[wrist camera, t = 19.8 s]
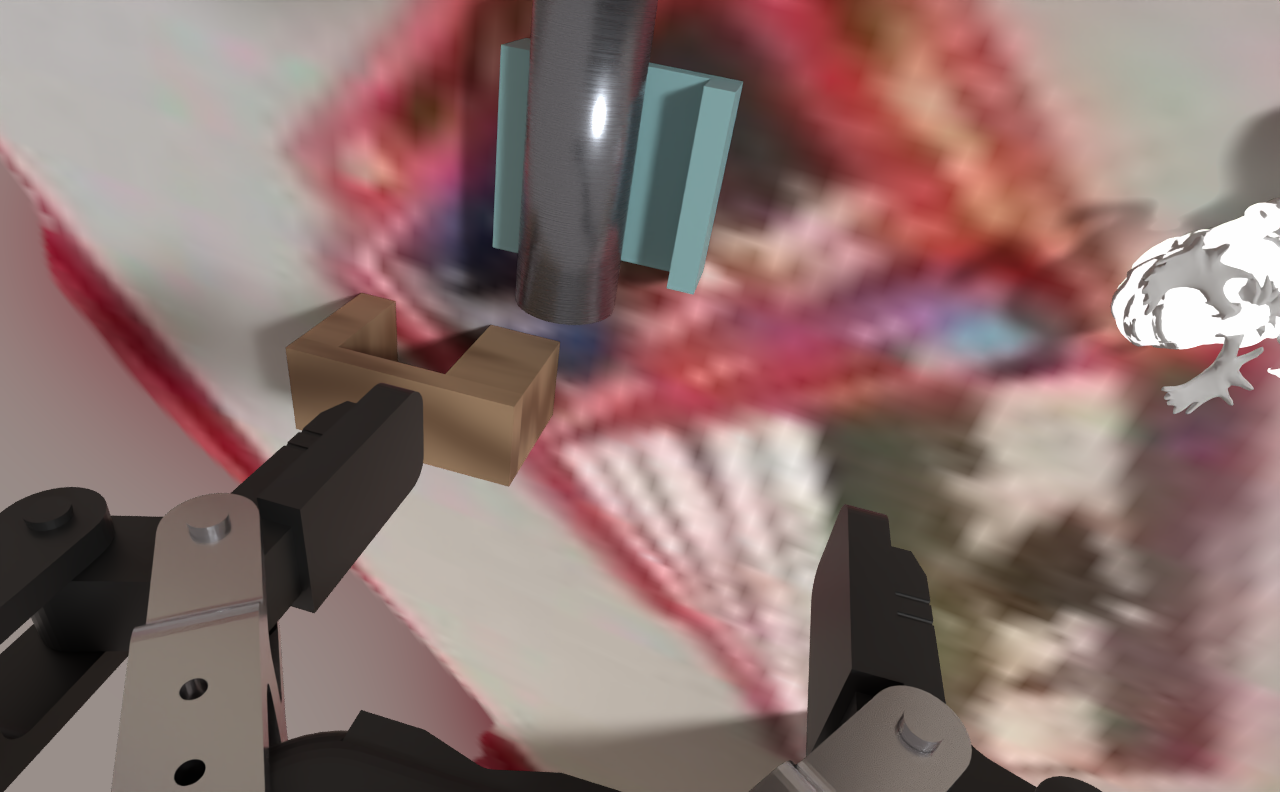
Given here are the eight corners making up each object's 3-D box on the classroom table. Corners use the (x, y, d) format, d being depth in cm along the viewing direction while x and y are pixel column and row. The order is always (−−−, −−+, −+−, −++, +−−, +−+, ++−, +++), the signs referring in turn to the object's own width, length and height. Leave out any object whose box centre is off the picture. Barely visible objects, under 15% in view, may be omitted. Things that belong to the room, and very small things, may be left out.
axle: (633, 306, 36) (568, 335, 33) (562, 271, 38) (494, 295, 35) (684, -15, 29) (606, -20, 25) (591, -36, 31) (508, -43, 27)
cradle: (703, 271, 37) (693, 294, 34) (515, 227, 38) (492, 247, 35) (743, 81, 32) (735, 92, 29) (526, 37, 33) (501, 44, 30)
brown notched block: (552, 414, 43) (508, 486, 38) (366, 366, 45) (296, 428, 39) (560, 342, 41) (514, 407, 35) (361, 293, 42) (285, 347, 36)
